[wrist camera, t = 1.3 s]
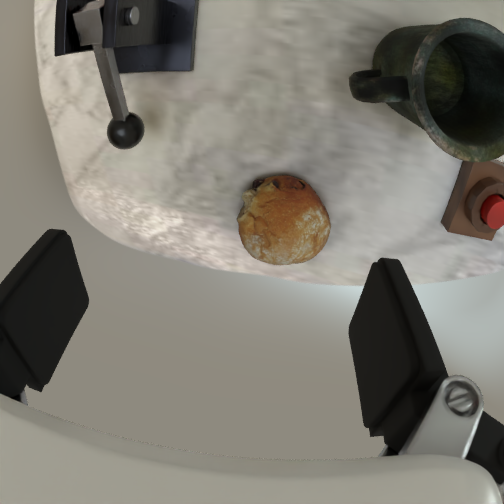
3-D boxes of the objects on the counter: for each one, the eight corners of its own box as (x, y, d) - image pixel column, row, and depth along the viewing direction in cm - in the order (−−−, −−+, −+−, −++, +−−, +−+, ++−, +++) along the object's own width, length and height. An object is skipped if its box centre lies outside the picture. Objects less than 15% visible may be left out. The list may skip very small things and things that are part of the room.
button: (486, 191, 28) (494, 198, 26) (506, 197, 28) (514, 204, 26) (475, 218, 30) (482, 226, 28) (495, 223, 30) (502, 231, 28)
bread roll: (253, 230, 42) (259, 287, 38) (219, 183, 34) (221, 247, 29) (327, 210, 39) (342, 266, 35) (309, 154, 31) (327, 218, 27)
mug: (465, 119, 27) (531, 159, 17) (343, 130, 30) (375, 176, 20) (455, 24, 21) (527, 28, 11) (322, 28, 24) (349, 15, 14)
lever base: (193, 70, 27) (143, 86, 17) (112, 73, 27) (35, 97, 17) (200, -22, 21) (153, -57, 11) (116, -13, 21) (39, -26, 11)
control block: (466, 148, 29) (484, 162, 26) (510, 165, 29) (528, 179, 25) (440, 222, 35) (453, 240, 31) (484, 231, 35) (498, 249, 31)
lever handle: (152, 132, 27) (140, 157, 26) (120, 131, 27) (107, 156, 26) (126, -7, 15) (103, 9, 13) (85, 1, 15) (60, 19, 13)
